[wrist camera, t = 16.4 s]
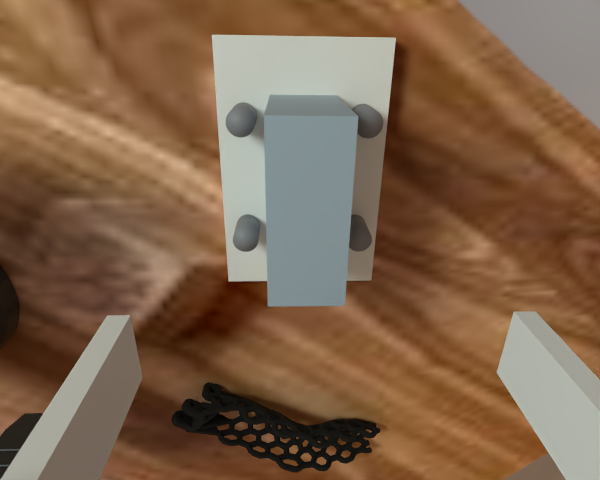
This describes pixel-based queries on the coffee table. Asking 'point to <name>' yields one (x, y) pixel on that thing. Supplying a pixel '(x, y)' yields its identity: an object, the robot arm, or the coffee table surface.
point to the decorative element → (272, 429)
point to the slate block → (308, 198)
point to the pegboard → (250, 131)
